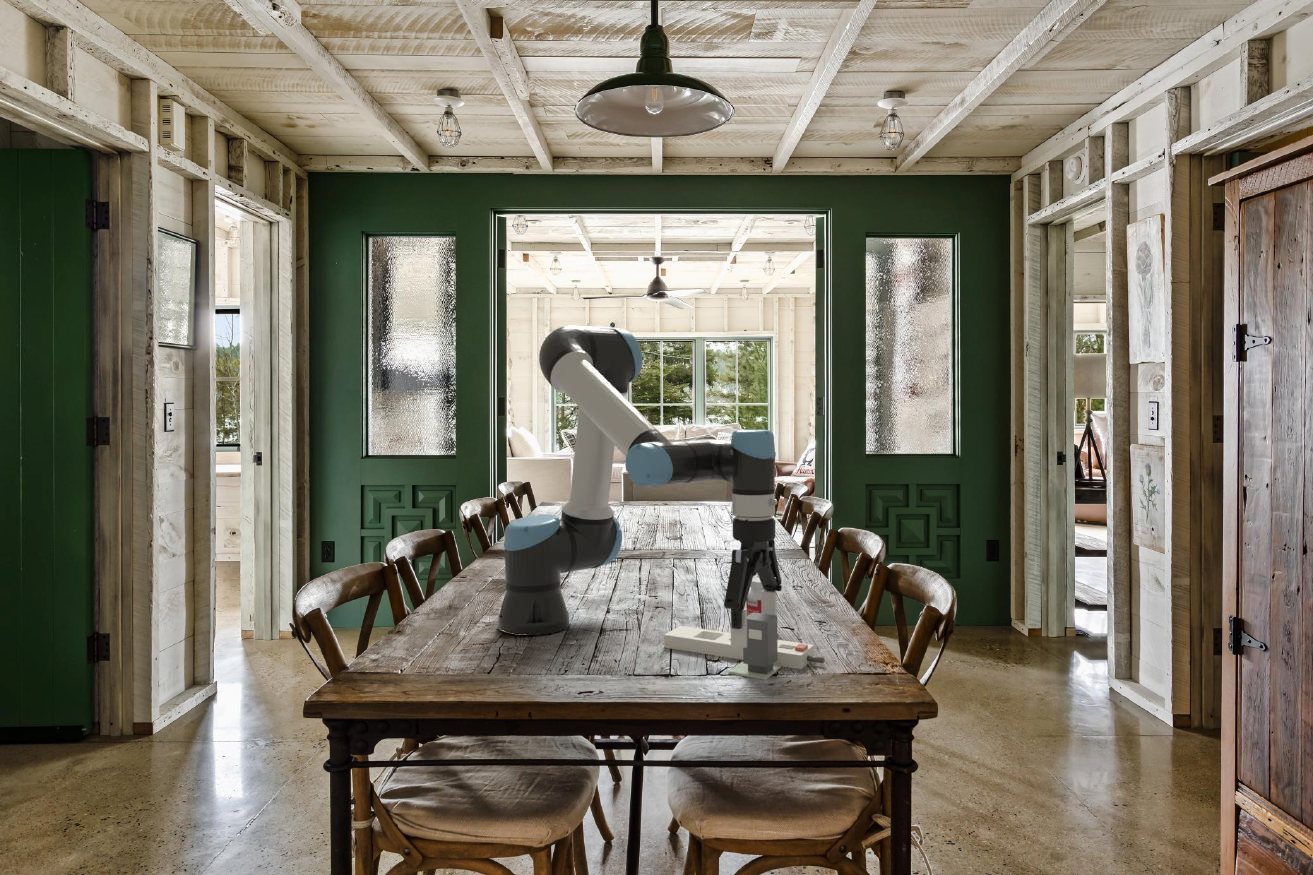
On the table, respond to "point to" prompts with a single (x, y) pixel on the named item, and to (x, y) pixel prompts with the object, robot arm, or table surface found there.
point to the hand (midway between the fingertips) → (754, 636)
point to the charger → (761, 643)
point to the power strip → (721, 646)
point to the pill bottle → (754, 597)
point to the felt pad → (743, 671)
